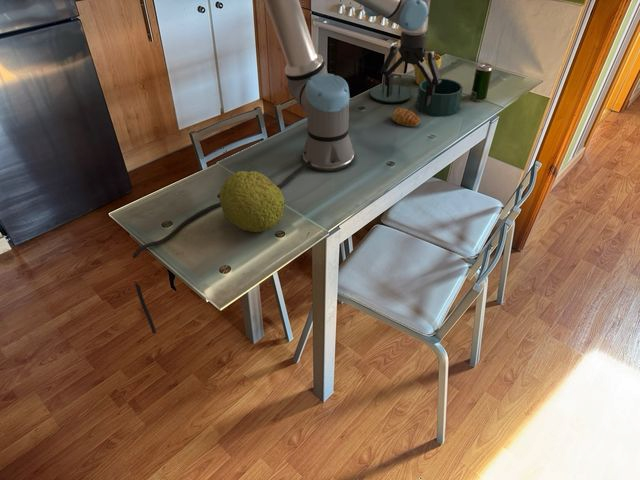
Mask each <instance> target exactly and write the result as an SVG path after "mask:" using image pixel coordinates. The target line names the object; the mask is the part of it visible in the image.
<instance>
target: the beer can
mask: <svg viewBox="0 0 640 480" xmlns="http://www.w3.org/2000/svg"><path fill="white" fill-rule="evenodd" d="M492 72H493V65H492V64H491V63H488V62H479V63H477V65H476V67H475V71H474V78H473V82H472V88H471V93H470V99H471V100H472V101H474V102H478V103H479V102H480V103H481V102H484V101H486V99H487V96H488V92H489V86H490V81H491V78H492Z"/></svg>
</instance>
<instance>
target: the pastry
mask: <svg viewBox="0 0 640 480" xmlns="http://www.w3.org/2000/svg"><path fill="white" fill-rule="evenodd" d="M391 120H392V121H393V122H394V123H397V124H398V125H402V126H405V127H416V126H418V125H419V124H420V122H421V120H420V118H419V116H418V115H416V113H415V112H413V111H412V110H411V109H410V110H409V109H407V108H403V107H397V108H396V109H394V111H393V112H392V115H391Z"/></svg>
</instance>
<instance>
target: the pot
mask: <svg viewBox="0 0 640 480" xmlns="http://www.w3.org/2000/svg"><path fill="white" fill-rule="evenodd" d="M441 79H442V82H441V83H440V84H439V85H435V90H434V94H433V95H432V96H431V100H430V104H429V105H428V106H424V104H425V95H426V87H427V85H428V82H427V80H424V81H422V82H421V83H420V85H419V84H418V91H417V100H416V108H417V110H418V111H419V112H421V113H423V114H425V115H428V116H434V117H446V116H451V115H454V114H456V113H458V111H459V110H460V106H461V101H462V94H463V90H464V89H463V88H464V87H463V85H462V84H461V83H459V82H458V81H457V80H453V79H449V78H442V77H441Z"/></svg>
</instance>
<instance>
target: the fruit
mask: <svg viewBox="0 0 640 480" xmlns="http://www.w3.org/2000/svg"><path fill="white" fill-rule="evenodd" d="M277 186H278V185H276V184H275V183H274V182H273V181H272V180H271V179H270V178H269V177H268V176H266V175H265V174H263V173H261V172H259V171H255V170H251V171H246V170H241V171H240V170H239V171H235V172H234V173H232V174H230V175H229V176H228V177H227V178H226V179H225V180H224V184H222V186H221V188H220V192H219V202H220V205H221V206H220V208H221V211H222V213H223V215H224V217H225V218H226V220H228V221H229V222H230V223H232V224H233V225H234V226H236V227H238V228H239V229H241V230H243V231H245V232H246V231H248V232H249V233H250V232H252V233H261V232H266V231H268V230H270V229H271V228H273V227H274V228H275V226H276V225H277V224H278V223H279V222H280V221H281V219H282V218H283V215H284V209H285V206H286V204H285V197H284V195H283V194H282V190H281V188H279V187H277Z"/></svg>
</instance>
